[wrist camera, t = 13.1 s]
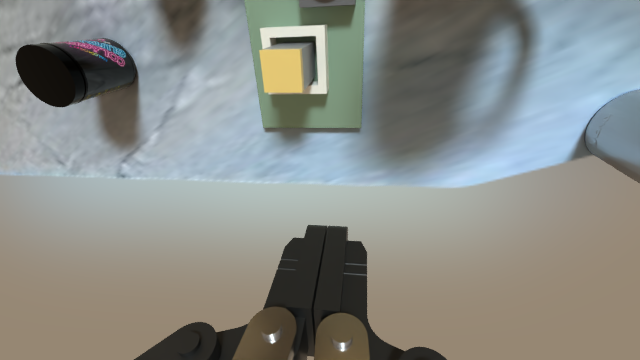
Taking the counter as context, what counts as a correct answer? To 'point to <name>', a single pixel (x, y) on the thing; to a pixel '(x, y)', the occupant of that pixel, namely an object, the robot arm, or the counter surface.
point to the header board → (330, 60)
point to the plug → (288, 67)
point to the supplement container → (74, 70)
